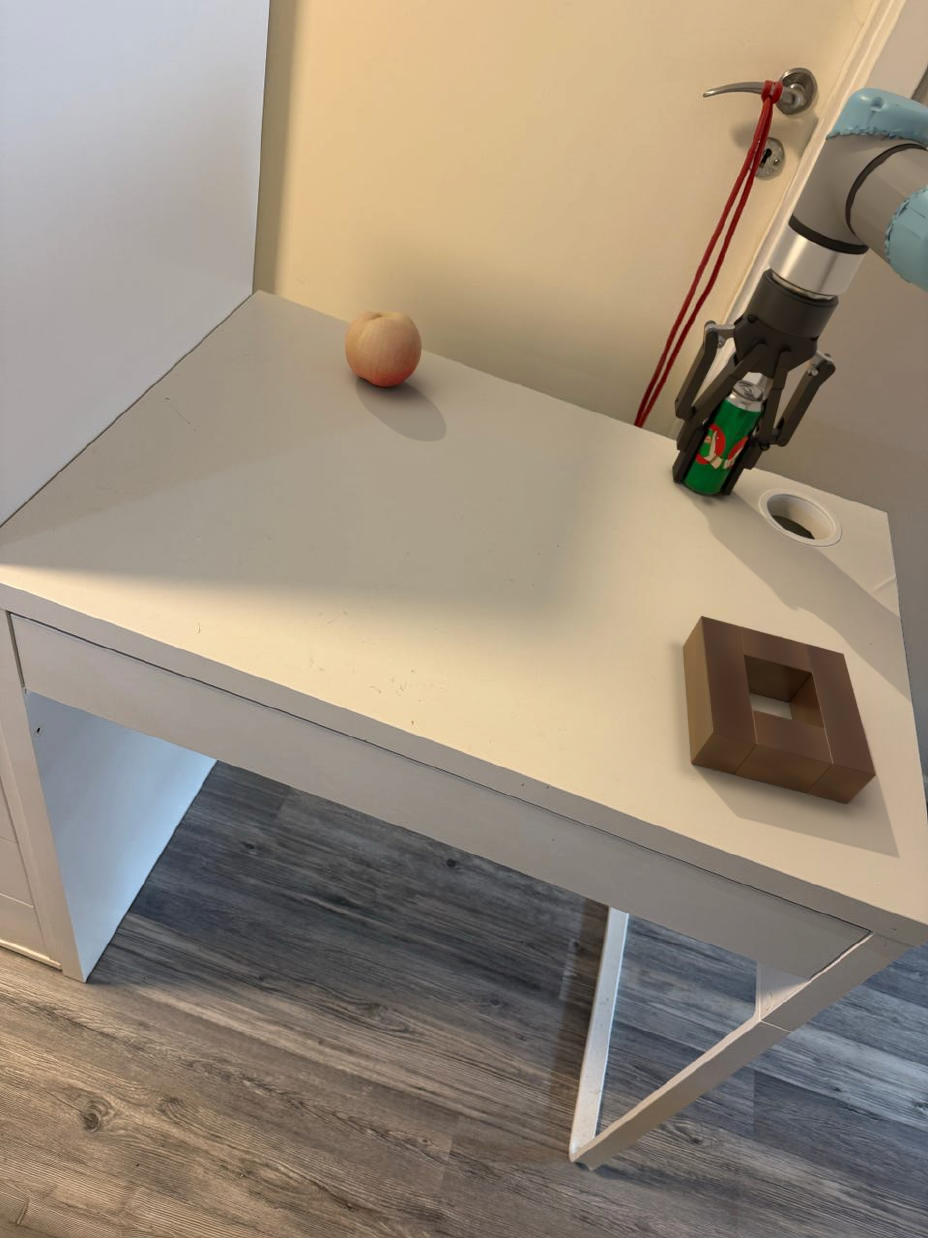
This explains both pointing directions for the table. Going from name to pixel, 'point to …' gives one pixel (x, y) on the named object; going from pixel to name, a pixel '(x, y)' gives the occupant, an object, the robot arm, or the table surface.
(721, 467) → the soda can
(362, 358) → the fruit
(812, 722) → the holder
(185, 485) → the table surface
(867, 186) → the robot arm
